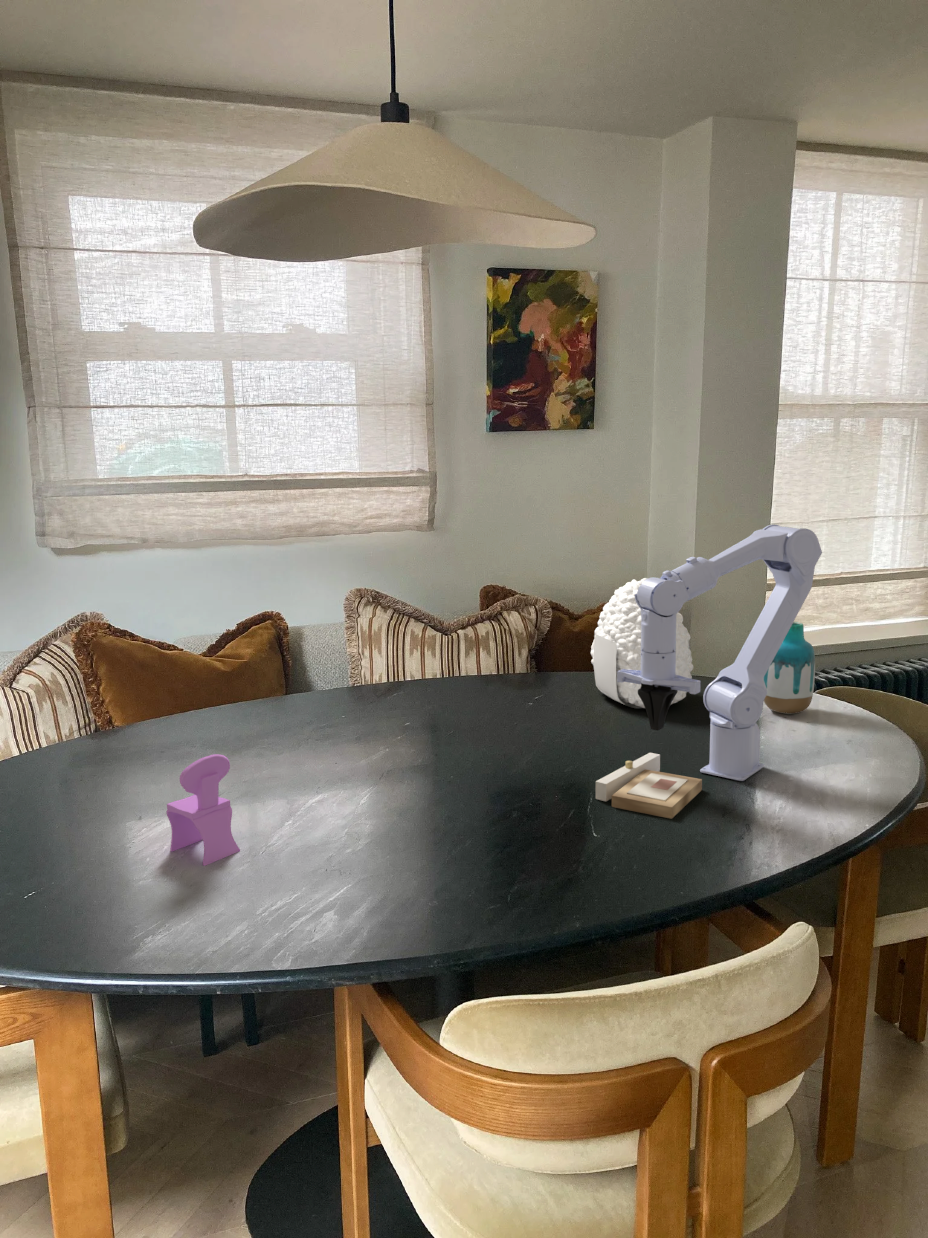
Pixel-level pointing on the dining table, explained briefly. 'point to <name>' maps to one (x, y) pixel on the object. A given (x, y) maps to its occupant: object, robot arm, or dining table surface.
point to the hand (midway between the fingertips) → (657, 728)
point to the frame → (657, 793)
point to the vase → (791, 674)
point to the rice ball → (629, 647)
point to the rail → (625, 775)
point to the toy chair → (203, 810)
